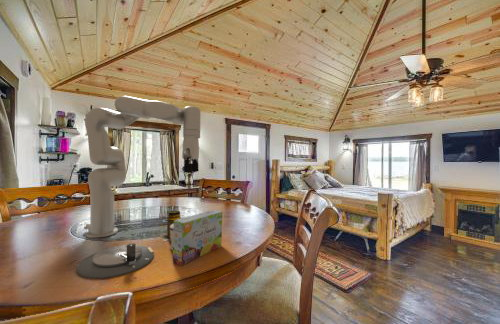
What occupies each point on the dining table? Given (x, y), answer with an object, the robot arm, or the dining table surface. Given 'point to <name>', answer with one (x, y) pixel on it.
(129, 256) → the dial
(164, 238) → the condiment
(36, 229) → the dining table surface
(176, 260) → the snack box
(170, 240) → the teacup with lid
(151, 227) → the dining table surface
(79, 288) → the dining table surface
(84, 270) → the dial plate
